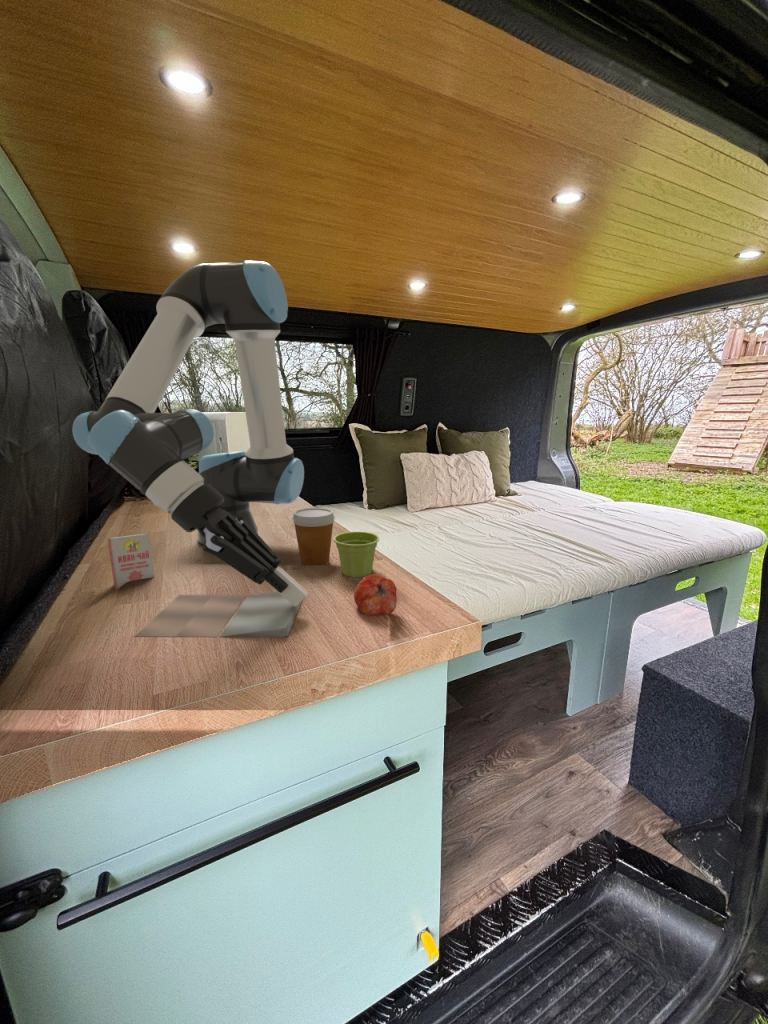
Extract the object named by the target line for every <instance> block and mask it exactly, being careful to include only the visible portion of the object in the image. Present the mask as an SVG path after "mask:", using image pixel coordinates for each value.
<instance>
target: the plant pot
mask: <svg viewBox="0 0 768 1024" xmlns="http://www.w3.org/2000/svg"><path fill="white" fill-rule="evenodd" d="M333 542H334V543H335V546H336V548H337V551H338V556H339V564H340V569H341V574H343V575H345V576H347V577H353V578H354V577H355V578H358V577H359V578H360V577H366V576H368V575H369V574H372V572H373V570H374V569H373V566H374V561H375V559H374V558H375V553H376V548H377V547H378V546H377V545H378V543H379V542H380V536H379V535H378V534H377V533H373V532H372V533H371V532H367V531H350V532H348V531H347V532H342V533H338V534H337V535H335V536H334V537H333Z"/></svg>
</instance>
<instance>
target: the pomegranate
mask: <svg viewBox="0 0 768 1024" xmlns="http://www.w3.org/2000/svg"><path fill="white" fill-rule="evenodd" d="M353 591H354V592H353V599H354V603H355V605H357V609H358V611H359V612H361V613H362V614H364V615H369V616H379V615H387V616H390V615H391V614H392V613H394V611H395V609H397V601H398V597H397V586H396V584H395V583H394V581H393V580H392V579H390V578H388V577H384V576H382V575H380V574H377V573H375V574H374V573H373V574H372V573H370V574H369V575H366V576H363V578H362V579H361V580H360V581H359V582H358V583H357V586H356V587H355V588H354V590H353Z"/></svg>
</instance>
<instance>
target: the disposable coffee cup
mask: <svg viewBox="0 0 768 1024" xmlns="http://www.w3.org/2000/svg"><path fill="white" fill-rule="evenodd" d="M291 520H292V522H293V524H294V528H295V534H296V540H297V541H296V542H297V545H298V546H297V547H298V553H299V558H300V564H301V565H302V566H327V565H328V564H329V563H330V555H331V548H332V547H331V546H332V538H333V537H332V535H333V528H334V527H333V526H334V522H335V520H336V516H335V515H334V512H333V510H332V509H329V508H324V507H307V508H301V509H298V510H295V511H293V516H292V517H291ZM328 562H329V563H328ZM327 563H328V564H327ZM326 564H327V565H326Z"/></svg>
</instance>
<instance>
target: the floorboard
mask: <svg viewBox="0 0 768 1024" xmlns="http://www.w3.org/2000/svg"><path fill="white" fill-rule="evenodd" d="M246 596H247V595H246V594H178V596H176V598H174V599H173V600H171V602H170V603H169V604H168V605H167V606H165V607H164V609H162V610H161V611H160V612H159V613H158V614H157V615H156V616H155V617H154V618H152V619H151V621H149V622H148V623H147V624H146V625H145V626H144V627H143V628H142V629H141V630H140V631H139V632H138V633H136V635H134V637H135V638H170V637H171V638H217V637H218V635H219V634H221V633H222V630H224V628H225V626H227V623H229V621H230V620H231V619H232V616H234V614H235V613H236V612H237V610H238V609H239V607H240V606H241V604H242V603H243V602H244V600H245V599H246Z"/></svg>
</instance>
